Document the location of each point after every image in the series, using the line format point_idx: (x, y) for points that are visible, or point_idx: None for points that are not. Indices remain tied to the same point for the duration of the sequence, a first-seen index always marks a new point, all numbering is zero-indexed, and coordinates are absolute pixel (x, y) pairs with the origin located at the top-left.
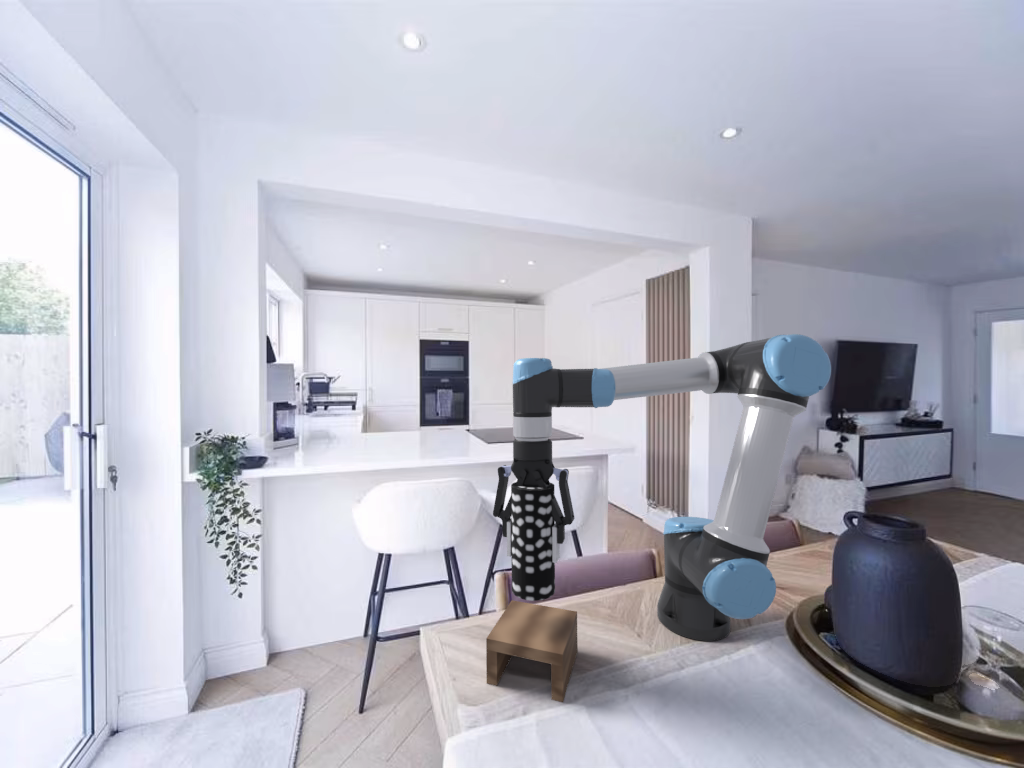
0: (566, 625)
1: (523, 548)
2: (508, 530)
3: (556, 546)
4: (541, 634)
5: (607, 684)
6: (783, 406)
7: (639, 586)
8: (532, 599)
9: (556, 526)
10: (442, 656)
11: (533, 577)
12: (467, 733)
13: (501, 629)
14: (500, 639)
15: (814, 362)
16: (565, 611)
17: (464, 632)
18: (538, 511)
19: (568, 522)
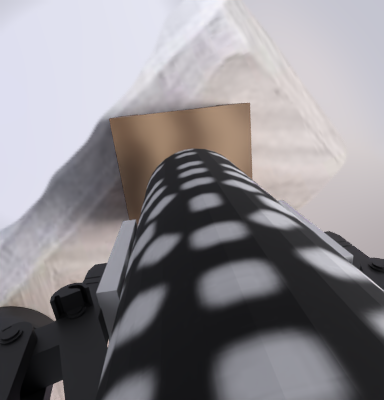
0: (135, 199)
1: (221, 178)
2: (322, 238)
3: (113, 247)
4: (164, 156)
5: (81, 174)
6: None
7: None
8: (178, 152)
9: (85, 289)
10: (313, 126)
11: (178, 163)
12: (214, 6)
13: (235, 139)
14: (225, 111)
15: None
16: None
17: (306, 187)
18: (162, 292)
19: (13, 328)
